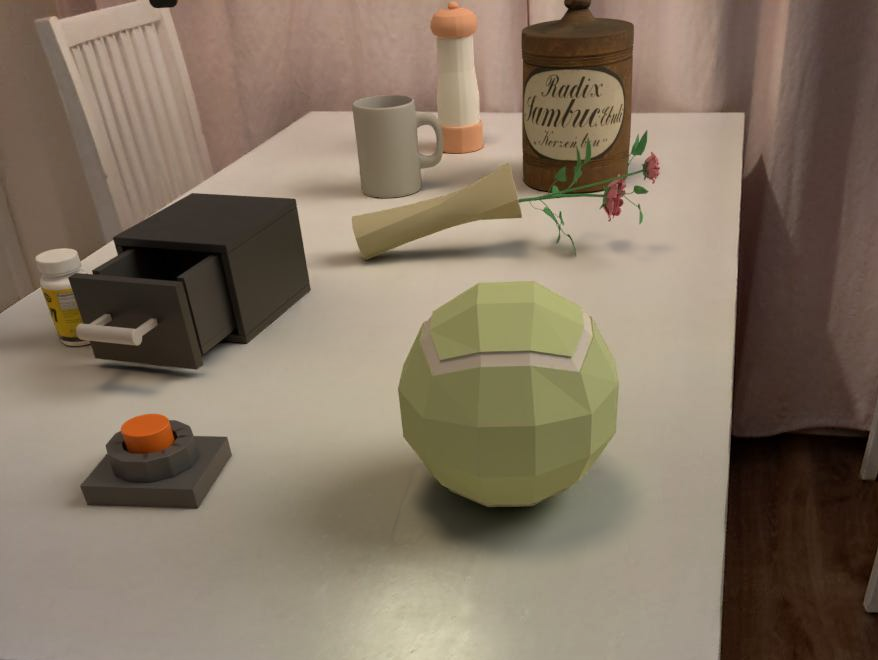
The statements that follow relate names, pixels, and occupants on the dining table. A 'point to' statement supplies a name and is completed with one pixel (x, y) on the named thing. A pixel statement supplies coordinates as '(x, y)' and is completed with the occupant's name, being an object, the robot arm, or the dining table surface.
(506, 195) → the flower vase
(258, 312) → the black cabinet
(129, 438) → the button
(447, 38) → the pepper shaker
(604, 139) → the wooden container
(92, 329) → the drawer
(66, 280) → the supplement bottle
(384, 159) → the mug
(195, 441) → the control block
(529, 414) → the tennis ball
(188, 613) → the dining table surface
